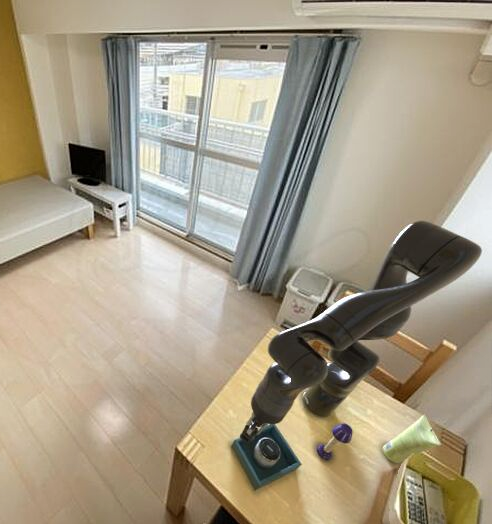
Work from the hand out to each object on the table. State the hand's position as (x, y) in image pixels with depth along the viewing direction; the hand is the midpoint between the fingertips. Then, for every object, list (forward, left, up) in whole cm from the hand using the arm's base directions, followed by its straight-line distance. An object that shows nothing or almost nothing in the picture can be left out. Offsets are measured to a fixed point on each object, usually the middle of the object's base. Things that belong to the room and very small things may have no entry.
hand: (255, 428), depth 77 cm
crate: (-7, +3, -21) cm, 22 cm away
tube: (-45, +16, -21) cm, 52 cm away
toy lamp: (-26, +8, -21) cm, 34 cm away
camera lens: (-7, +3, -21) cm, 22 cm away
